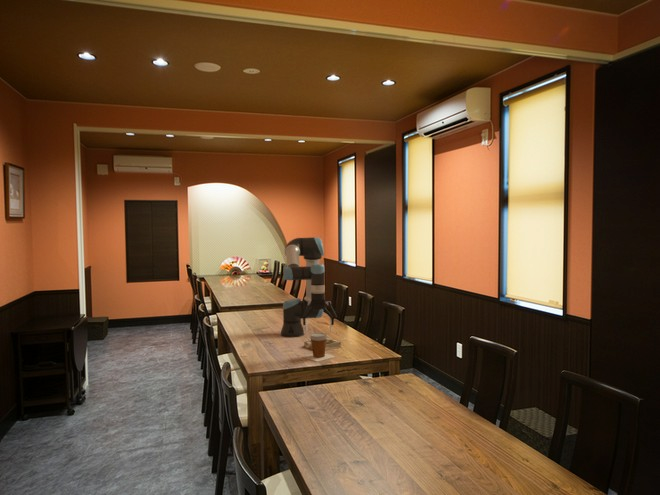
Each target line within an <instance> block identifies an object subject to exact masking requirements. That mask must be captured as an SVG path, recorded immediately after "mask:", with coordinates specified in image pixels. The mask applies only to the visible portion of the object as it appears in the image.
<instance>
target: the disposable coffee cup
mask: <svg viewBox="0 0 660 495" xmlns="http://www.w3.org/2000/svg"><path fill="white" fill-rule="evenodd" d="M309 338H310V340H311V344H312V349H311V351H312V354H313V357H315V358H322V357H324V356H325V353H326V351H325V348H326V345H327V344H326V339H327V338H328V336H327V333H324V332H315V333H311V334H310V337H309Z"/></svg>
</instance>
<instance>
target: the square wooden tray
mask: <svg viewBox="0 0 660 495" xmlns="http://www.w3.org/2000/svg"><path fill="white" fill-rule="evenodd" d="M303 342H304V346H303V347H304V348H307V349H311V350H312V344H311V339H310V340H305V341H303ZM341 343H342V342H341V341H339V340H335V339H332V338H329V337H327V339H326V348H325V352H326V351H330V350H333V349H338V348H341V346H342V344H341Z"/></svg>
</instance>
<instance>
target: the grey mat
mask: <svg viewBox="0 0 660 495" xmlns="http://www.w3.org/2000/svg"><path fill="white" fill-rule="evenodd" d="M334 357H335V358H336V356H335V355H333V354H330V353H329V354H328V353H326V352H325V356H324V357H322V358H315V357H313V353H311V354H307V355H302V358H304V359H307V360H311V361H313V362H315V363H318V362H319V363H320V362H324V361H327V360H331V359H335V358H334ZM330 358H331V359H330Z"/></svg>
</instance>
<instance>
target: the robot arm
mask: <svg viewBox="0 0 660 495" xmlns="http://www.w3.org/2000/svg"><path fill="white" fill-rule="evenodd" d="M284 255H285V257H286V266H285V267H283V279H284V281H302V280H303V281H305V282H306V283H305V290H306V291H305V293H306V294H305V296H304V298H303V300H301V298H291V299H287V300H284V301H283V302H282V313H283V314H282V316H283V320H282V321H283V323H282V328H281V331H280V336H281V337H285V338H299V337H301V336H304V335H305V333H306V332H308V319H319V318H322V317H323V315H324V312H325V314H326V315H327V316H328V317H329V328H330V329H329V332H332V331H333V327H332V326H334V324H335V322H334V321H335V319H337V318H338V316H337V314H336V311H335V310H334V308H333V306H332V302H331V300H329V301H326V293H325V292H326V290H325V289H326V286H325V284H326V283H325V280H326V279H325V278H326V277H325V276H326V275H325V272H326V270H325V269H326V268H325V264H323V263H320V261H321V260H322V259H323V258H322V257H323V256H324V255H325V251H324V245H323V239H322V238H320V237H311V236H310V237H296V238H293V239H291V240H289V241H288V243H287V244H286V245H285V247H284ZM300 257H303V259H304V260H305V266H301V265H300V263H301V262H300ZM326 305H327V306H328V307H329V308H328V309H329V310H330V311H329V310H328V309H327V307H326ZM302 321H303V324H302ZM303 326H304V327H303ZM304 329H305V330H304Z"/></svg>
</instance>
